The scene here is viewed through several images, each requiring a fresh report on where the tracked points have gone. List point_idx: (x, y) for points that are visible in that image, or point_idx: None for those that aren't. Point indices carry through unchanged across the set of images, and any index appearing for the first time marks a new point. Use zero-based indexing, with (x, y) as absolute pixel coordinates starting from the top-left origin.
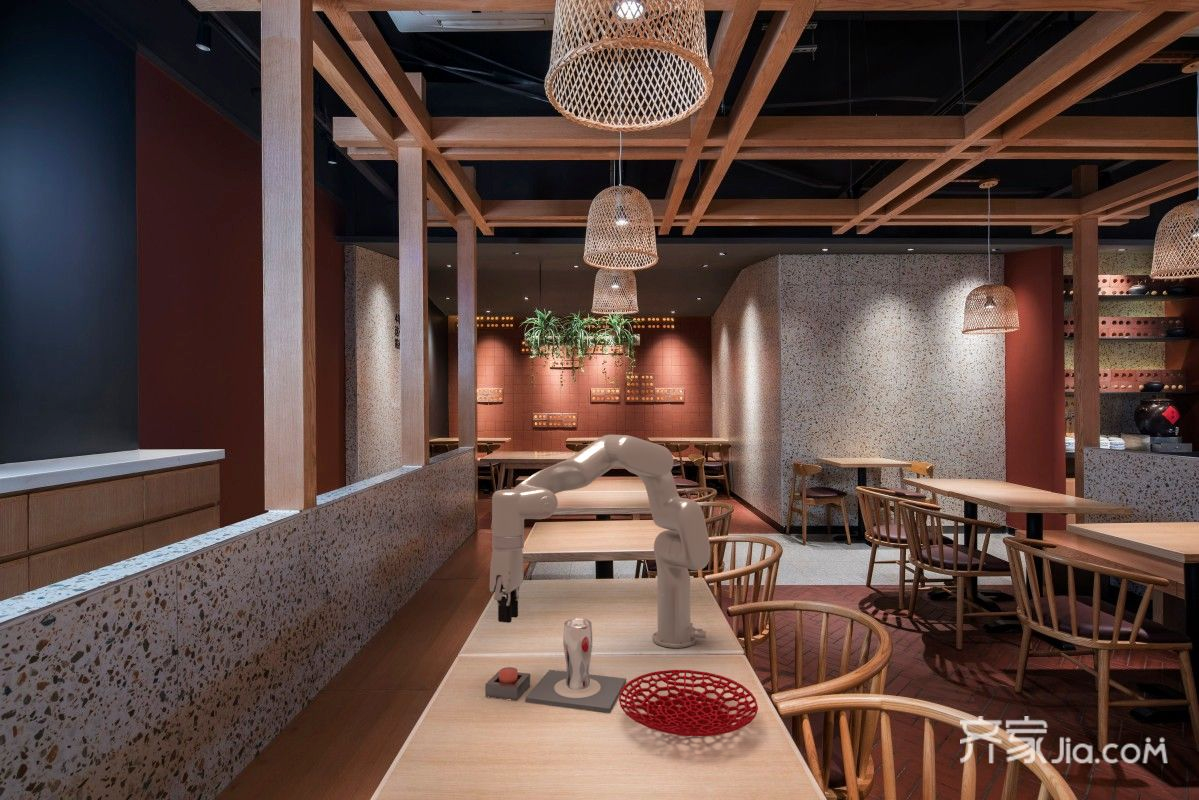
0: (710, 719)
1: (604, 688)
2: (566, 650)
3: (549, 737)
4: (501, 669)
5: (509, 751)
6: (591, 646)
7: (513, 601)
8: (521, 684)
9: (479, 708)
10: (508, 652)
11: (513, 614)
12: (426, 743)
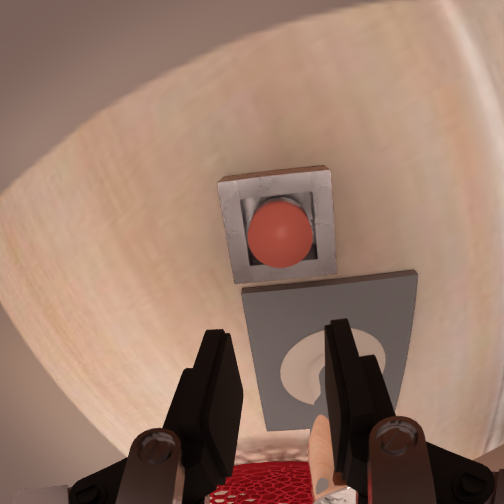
0: (278, 499)
1: None
2: (315, 436)
3: (147, 375)
4: (282, 210)
5: (83, 335)
6: None
7: (338, 463)
8: (266, 279)
9: (163, 201)
10: (498, 100)
11: (326, 385)
12: (25, 195)
